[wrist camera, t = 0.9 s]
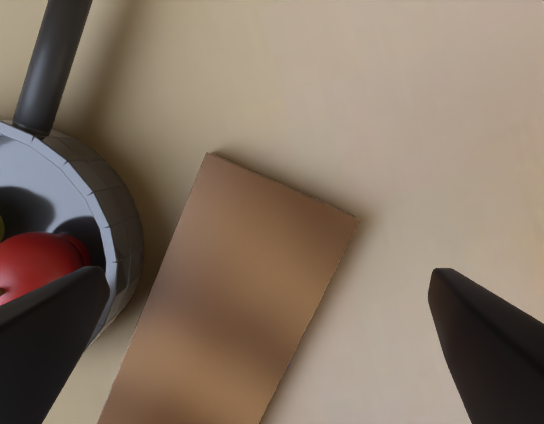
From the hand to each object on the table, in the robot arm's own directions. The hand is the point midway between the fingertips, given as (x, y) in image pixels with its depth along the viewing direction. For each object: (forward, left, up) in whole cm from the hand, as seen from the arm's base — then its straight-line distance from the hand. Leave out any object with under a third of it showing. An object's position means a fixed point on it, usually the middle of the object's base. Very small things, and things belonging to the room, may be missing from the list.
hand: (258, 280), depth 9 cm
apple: (-9, +11, -13) cm, 20 cm away
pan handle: (+3, +14, -12) cm, 19 cm away
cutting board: (-9, -1, -14) cm, 17 cm away
